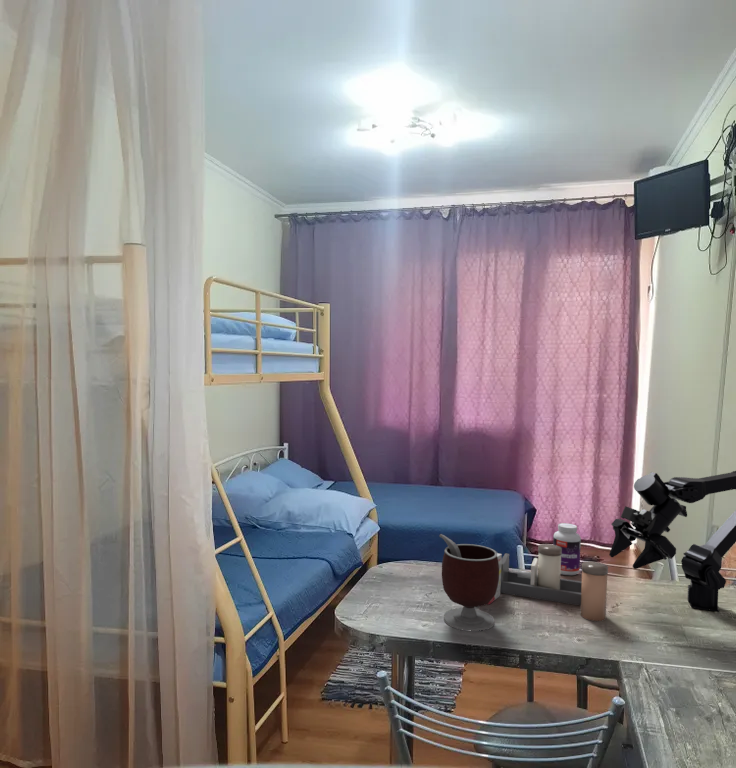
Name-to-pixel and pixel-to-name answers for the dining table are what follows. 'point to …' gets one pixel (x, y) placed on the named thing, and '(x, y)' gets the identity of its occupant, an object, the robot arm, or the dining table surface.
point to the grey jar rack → (538, 587)
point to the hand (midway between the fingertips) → (621, 561)
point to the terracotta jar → (594, 591)
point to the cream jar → (549, 566)
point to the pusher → (530, 573)
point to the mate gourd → (469, 583)
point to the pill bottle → (568, 548)
